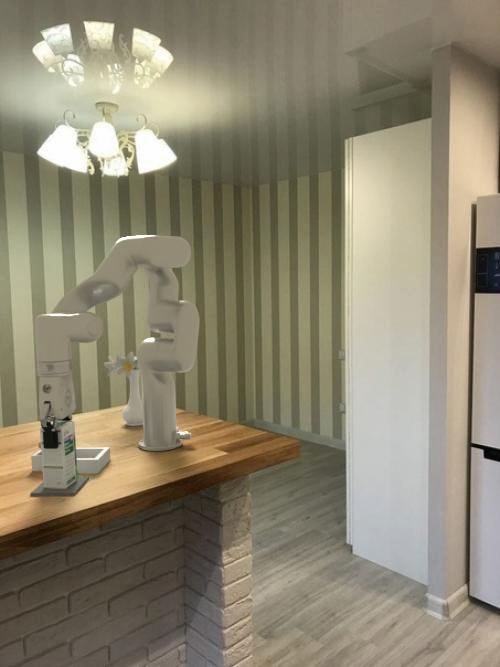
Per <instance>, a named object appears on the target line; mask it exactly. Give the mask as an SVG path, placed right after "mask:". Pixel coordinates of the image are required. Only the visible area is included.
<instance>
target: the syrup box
mask: <svg viewBox="0 0 500 667" xmlns="http://www.w3.org/2000/svg"><path fill="white" fill-rule="evenodd" d="M51 424H53V421H52V422H51ZM56 431H58V443H59V447H58V448H57V449H44V445H43V432H42V427H39V434H40V435H39V436H40V442H41V448H40V449H41V455H42V470H43V471H42V482H43V485H44V487H45V488H54V489H66V488H67V487H68V486H70V485H71V484H72V483H74V482H75V481H77V480H78V477H79V476H78V473H77V458H76V448H77V442H76V426H75V421H73V420H70V421H57V427H56Z"/></svg>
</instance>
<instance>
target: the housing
mask: <svg viewBox="0 0 500 667" xmlns="http://www.w3.org/2000/svg"><path fill="white" fill-rule="evenodd" d="M30 457H31V458H30V459H31V471H32V472H43V470H42V455H41V448H39V450H37V451H36V452H34V454H32V455H31V456H30ZM76 458H77V474H99V473H101V471H102V470H103V469H104V468H105V467H106V466H107V464H108V463H110V461H111V447H110V446H109V447H108V446H106V447H105V446H103V447H101V446H100V447H99V446H98V447H76Z"/></svg>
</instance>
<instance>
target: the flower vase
mask: <svg viewBox="0 0 500 667" xmlns="http://www.w3.org/2000/svg"><path fill="white" fill-rule="evenodd" d="M134 354H135V353H134V352H133V351H129V353H128V354H127V355H126V356H125V357H122V356H121V354H120V353H116V361H115V360H114V359H113V358H112V357H111V355H108V356H107V358H108V362H107V361H106V362H104V363H103V366H104V367H105V368H107V369H109V370H108V372H107V376H108V377H109V378H111V377H112V376H113V374H114V376H115V377H118V376H121V375H123V374H124V373H125V376H126V378H128V379H129V398H128V402H127V404H126V406H124V408H123V410H122V412H121V419H122V420H123V421H124V422H126V426H129V427H140V426H143V407H142V397H141V395H140V384H139V383H140V382H139V381H140V369H139V365H138V360H137V353H136V354H135V356H134Z"/></svg>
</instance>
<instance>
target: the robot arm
mask: <svg viewBox="0 0 500 667" xmlns="http://www.w3.org/2000/svg"><path fill="white" fill-rule="evenodd" d="M191 255H192V249H191V245H190V242H188V241H187V240H186V239H185V238H183V237H182V236H175V235H173V236H172V235H171V236H170V235H169V236H167V235H154V234H153V235H152V234H151V235H147V234H145V235H135V236H134V235H133V236H126V237H121V238H119V239H118V240H117V241H116V242H115V243H114V245H113V246H112V247H111V249H110V250H109V251H108V252H107V255H105V257H104V259H102V261H101V263H100V264H99V266H98V267H97V268H96V270H95V271H94V273H93V274H91V275H90V276H89V277H87V278H85V279H84V280H83V281H81V282H80V283H79V284H77V285H76V286H74V287H73V288H71V289H70V290H69V291H68V292H67V293H66V294H64V295H63V296H62V298H60V299H59V301H58V302H57V304H56V305H55V306H54V307H53V309H52V311H51V313H47V314H46V313H45V314H44V313H43V314H39V315H37V316H36V317H35V318H34V336H35V349H36V350H35V352H36V371H37V372H36V373H37V376H38V377H39V381H38V382H39V383H38V384H39V387H38V388H39V389H38V393H39V394H38V402H39V403H38V406H39V408H38V409H39V416H38V420H39V423H40V426H41V427H42V432H43V445H44V449H57V448H58V447H59V443H58V431H56V427H57V421H58V419H60V420H61V421H73V415H72V413H74V412H75V411H76V406H77V404H76V396H75V387H74V380H73V379H74V378H73V360H72V344H74V343H75V344H76V343H77V344H80V343H81V344H90V343H95V341H98V340H99V338H101V337H102V335H103V333H104V328H105V326H104V321H103V319H102V318H101V317H100V316H99V315H98V314H96V313H94V312H91V311H90V310H91V309H93V308H94V307H96V306H98V305H101V304H104V303H106V302H110V301H112V300H113V299H116V298H118V297H119V296H120V295H122V294H123V293H124V291H125V290H126V288H127V286H128V285H129V283H130V282H131V280H132V278H134V275H135V274H136V272H137V271H138V270H139V269H143V271H144V272H145V274H146V276H147V279H148V282H149V284H148V285H149V291H148V301H147V310H146V320H145V321H146V327H147V328H148V330H149V331H151V332H152V333H153V332H154V333H157V334H167V335H168V334H170V335H171V334H172V335H173V338H169V337H149V338H146V339H144V340H142V341H141V343H139V345H138V347H137V350H136V354H137V360H138V363H137V364H138V365H139V369H140V372H139V374H140V380H141V401H142V407H143V425H142V428H143V432H142V433H143V438H142V439H140V440H139V441H138V447H139V449H141V450H144V451H148V452H163V451H164V452H165V451H169V450H175V449H176V448H179V447H180V446H182V444H183V440H186V441H191V440H192V432H189V431H181V430H179V426H177V413H176V412H177V411H176V410H177V409H176V384H175V381H174V378H173V375H172V373H186V372H189V371H191V370H192V368H193V366H194V365H195V363H196V362H195V361H196V359H197V358H196V357H197V350H198V342H199V334H200V333H199V331H200V314H199V311H198V308H197V306H196V305H195V304H194V303H193V302H191V301H188V300H179V292H180V291H179V290H180V285H179V284H180V283H179V280H178V278H177V276H176V274H175V273H174V271H173V270H172V268H175V269H176V268H183V267H185V266H186V265H187V264H188V263H189V262H190V260H191ZM50 421H53V424H51V422H50ZM41 427H40V428H41Z"/></svg>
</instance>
